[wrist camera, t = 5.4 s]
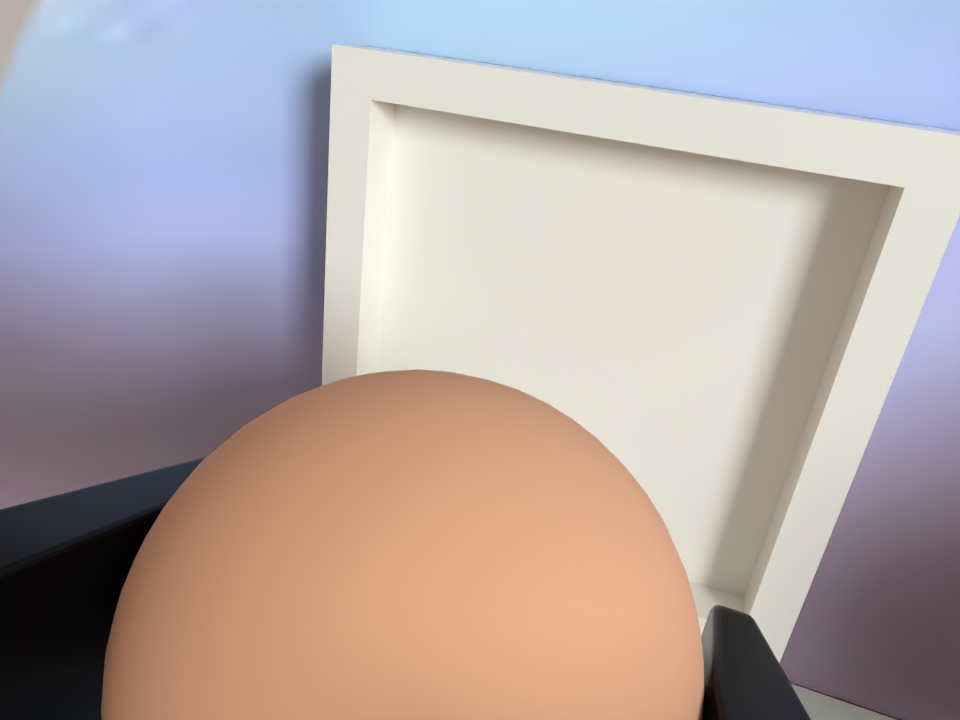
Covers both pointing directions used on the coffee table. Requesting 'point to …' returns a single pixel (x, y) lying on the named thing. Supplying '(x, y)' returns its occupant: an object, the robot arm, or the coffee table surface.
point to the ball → (407, 570)
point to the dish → (644, 282)
